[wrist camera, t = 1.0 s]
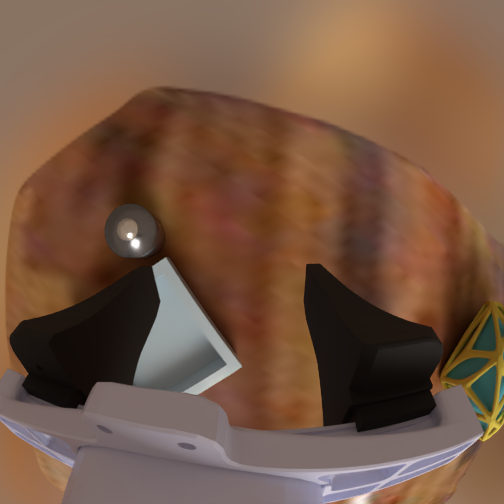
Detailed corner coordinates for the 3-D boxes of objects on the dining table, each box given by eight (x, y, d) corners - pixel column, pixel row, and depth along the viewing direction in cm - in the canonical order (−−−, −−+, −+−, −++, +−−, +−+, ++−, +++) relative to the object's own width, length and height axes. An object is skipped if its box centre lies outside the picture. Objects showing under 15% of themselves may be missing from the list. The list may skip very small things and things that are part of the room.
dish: (148, 407, 25) (143, 423, 22) (80, 319, 24) (67, 327, 20) (236, 354, 27) (242, 366, 24) (169, 257, 26) (165, 257, 23)
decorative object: (452, 400, 40) (512, 396, 28) (415, 464, 26) (500, 467, 14) (452, 297, 43) (516, 284, 31) (421, 325, 29) (526, 308, 17)
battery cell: (139, 265, 25) (119, 268, 18) (119, 231, 25) (93, 221, 18) (172, 243, 26) (163, 237, 19) (152, 209, 26) (136, 191, 18)
